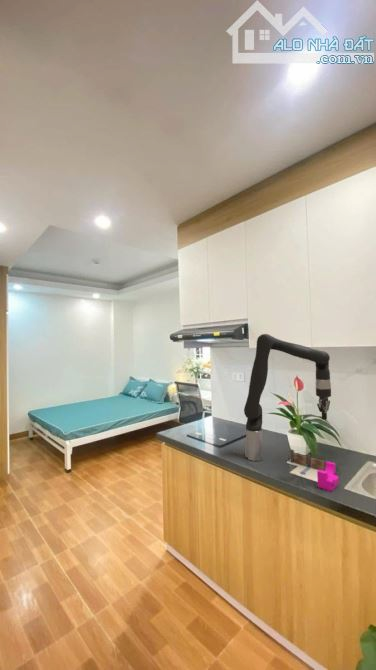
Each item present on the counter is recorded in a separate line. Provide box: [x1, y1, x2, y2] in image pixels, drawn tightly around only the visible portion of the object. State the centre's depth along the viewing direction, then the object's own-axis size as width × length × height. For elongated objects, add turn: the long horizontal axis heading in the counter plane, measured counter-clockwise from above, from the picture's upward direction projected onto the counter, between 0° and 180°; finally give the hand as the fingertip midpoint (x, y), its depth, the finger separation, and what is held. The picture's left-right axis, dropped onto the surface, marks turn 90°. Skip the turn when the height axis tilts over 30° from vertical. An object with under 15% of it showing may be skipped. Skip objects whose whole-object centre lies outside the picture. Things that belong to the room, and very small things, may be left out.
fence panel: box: [310, 457, 329, 471], centre depth 148 cm, size 9×2×6 cm, turn 44°
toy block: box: [317, 460, 340, 492], centre depth 135 cm, size 15×6×8 cm, turn 136°
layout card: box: [286, 459, 318, 483], centre depth 149 cm, size 22×16×1 cm
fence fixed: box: [290, 449, 311, 467], centre depth 155 cm, size 11×2×7 cm, turn 44°
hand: (324, 419), depth 151 cm, fingers closed
